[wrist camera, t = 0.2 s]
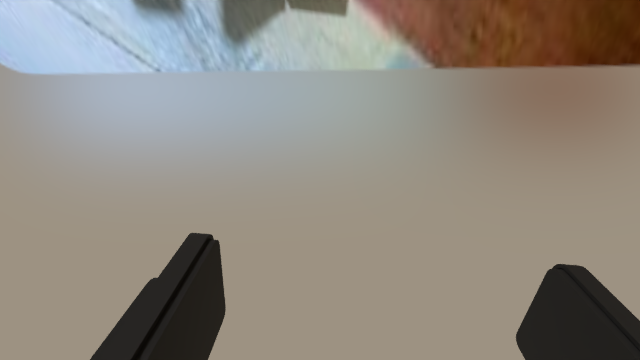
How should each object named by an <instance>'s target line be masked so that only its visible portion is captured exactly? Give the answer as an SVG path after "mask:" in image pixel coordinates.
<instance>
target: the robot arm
mask: <svg viewBox="0 0 640 360" xmlns="http://www.w3.org/2000/svg"><path fill="white" fill-rule="evenodd" d="M224 315H225V297H224V288H223V276H222V265H221V255H220V245H219V241H218V240H214V239H213V236H212V235H210V234H200V233H190V234H189V235H188V237H187V238H186V239H185V241H184V242H183V244H182V245H181V246H180V248H179V249H178V251H177V252H176V253H175V255H174V256H173V257H172V259H171V260H170V262H169V263H168V265H167V266H166V267H165V269H164V270H163V271H162V273H161V274H160V275H159V277H158V278H153V279H151V280H150V281H149V282H148V283H147V284H146V286H145V287H144V288H143V289H142V291H141V292H140V294H139V295H138V296H137V297H136V299H135V300H134V301H133V303H132V304H131V305H130V307H129V308H128V310H127V311H126V312H125V314H124V315H123V316H122V318H121V319H120V320H119V322H118V323H117V324H116V326H115V327H114V328H113V330H112V331H111V332H110V334H109V335H108V336H107V338H106V339H105V340H104V342H103V343H102V344H101V346H100V347H99V348H98V350H97V351H96V352H95V354H94V355H93V356H92V358H91V359H90V360H208V358H209V355H210V353H211V350H212V347H213V345H214V342H215V340H216V337H217V335H218V332H219V330H220V327H221V325H222V322H223V319H224ZM516 341H517V345H518V347H519V349H520V351H521V353H522V354H523V356H524V358H525V360H640V321H639V320H638V319H637V318H636V317H635V316H634V315H633V314H632V313H631V312H630V311H629V310H628V309H627V308H626V307H625V306H624V305H623V304H622V303H621V302H620V301H619V300H618V299H617V298H616V297H615V296H613V294H612V293H611V292H609V290H608V289H606V288H605V287H604V286H603V285H602V284H601V283H600V282H599V281H598V280H597V279H596V278H595V277H594V276H593V275H592V274H591V273H590V272H589V271H588V270H587V269H586V268H584V267H582V266H577V265H565V264H557V265H555V266H554V267H553V268H552V269H550V270H548V271H547V273H546V275H545V277H544V279H543V281H542V283H541V285H540V287H539V289H538V291H537V293H536V295H535V297H534V299H533V301H532V303H531V305H530V307H529V309H528V311H527V313H526V315H525V317H524V319H523V321H522V323H521V326H520V328H519V329H518V332H517V334H516Z"/></svg>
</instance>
